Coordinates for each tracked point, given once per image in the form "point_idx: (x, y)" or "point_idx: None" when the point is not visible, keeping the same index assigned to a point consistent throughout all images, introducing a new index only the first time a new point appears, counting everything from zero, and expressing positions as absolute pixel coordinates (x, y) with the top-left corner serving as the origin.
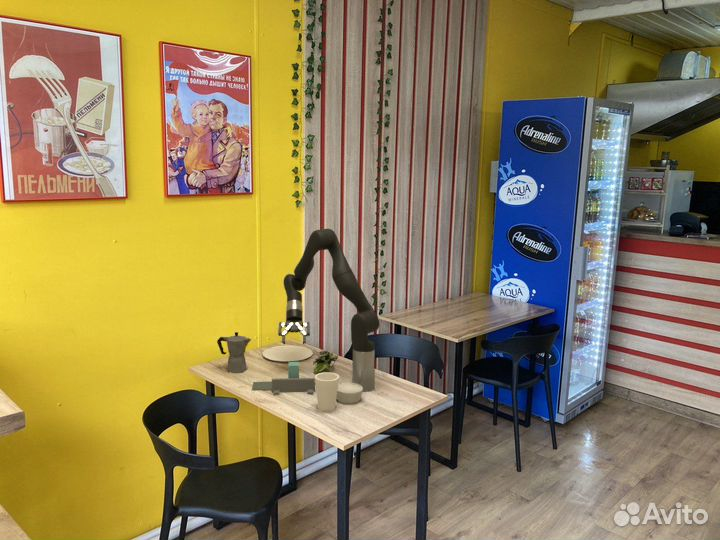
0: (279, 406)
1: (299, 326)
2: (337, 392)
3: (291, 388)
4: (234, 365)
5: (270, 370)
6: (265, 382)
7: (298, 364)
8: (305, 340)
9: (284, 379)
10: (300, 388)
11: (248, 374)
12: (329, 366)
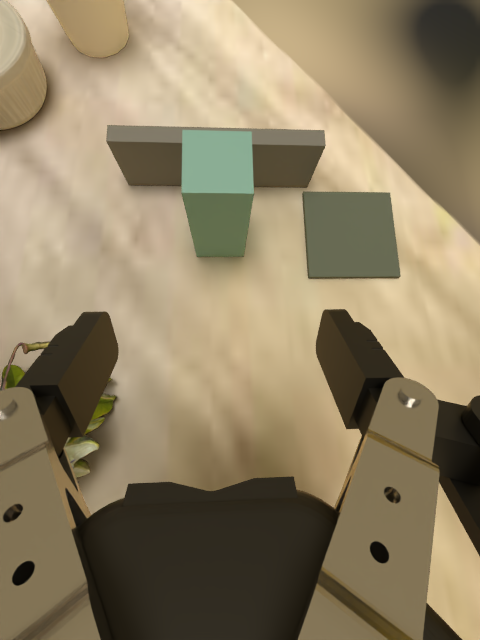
0: (266, 60)
1: (15, 594)
2: (25, 24)
3: None
4: None
5: (345, 441)
6: (346, 267)
7: (186, 147)
8: (61, 337)
9: (263, 131)
10: None
11: (442, 383)
12: (3, 377)
